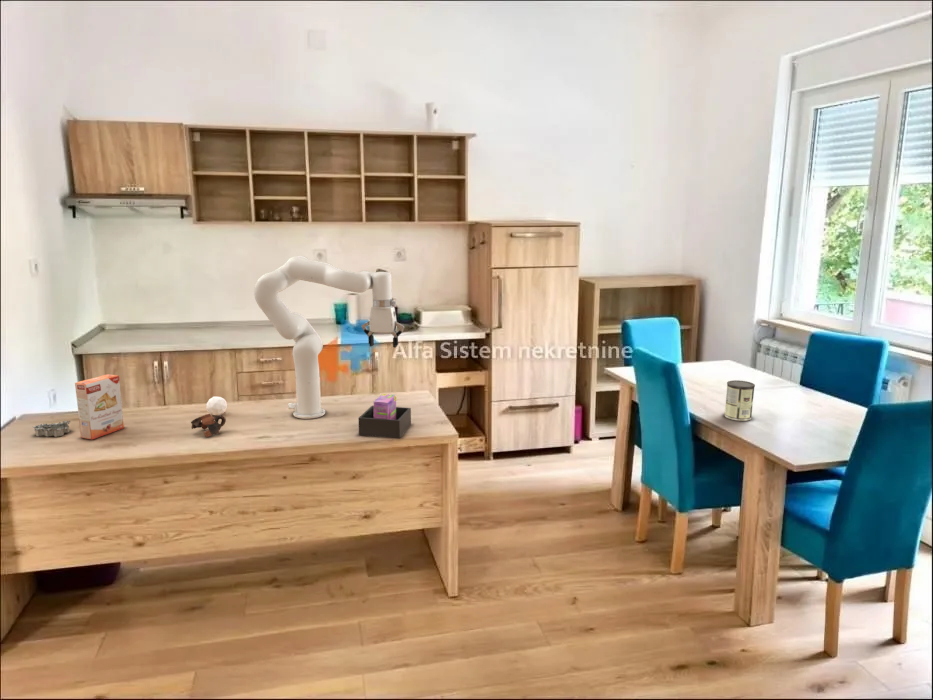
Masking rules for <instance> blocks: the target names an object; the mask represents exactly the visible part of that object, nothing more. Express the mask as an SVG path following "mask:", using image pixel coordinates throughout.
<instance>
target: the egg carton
mask: <svg viewBox="0 0 933 700" xmlns="http://www.w3.org/2000/svg"><path fill="white" fill-rule="evenodd" d="M70 423H71V420H64V421H62V422H58V423H56V422H55V423H39V424H38V425H35V426H32V428H33V429H34V434H35V436H36V437H41V436H44V437H51V436H53V437H54V438H57V437H61V436H64V435H65V434H69V433H70V432H71V430H70Z"/></svg>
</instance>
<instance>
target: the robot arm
mask: <svg viewBox="0 0 933 700" xmlns="http://www.w3.org/2000/svg"><path fill="white" fill-rule="evenodd" d="M392 279H393V278H392V274H391V273H390V272H388V271H367V270H360V271H358V272H355V271H351V270H345V269H341V268H338V267H336V266H334V265H333V264H331V263H329V262H324V261H320V260H315V259H310V258H308V257H306V256H304V255H295V256H291V257H290V258H288V259H287V261H286V262H285V263H283V264H282V265H281V266H279V267H278V268H276V269H274V270H273V271H269V272H266V273H264V274H262V275H260V277H259V278H258V279H257V281H256V283H255V285H254V289H253V293H254V294H253V296H254V300H255V302H256V305H258V307H259V308H260V310H261V311H262V312H263V314H264V315H265V317H267V319H268V320H269V322H270V323H271V325H272V326H273V327H274V328H275V330H276V331H277V333H278V334H279V335H280V336H281V337H282V338H283V339H285V340H289V341H290V340H293V341H294V342H295V343H294V345H293V347H292V359H293V365H294V377H295V395H296V402H295V403H294V402H288V404H287V407H288V409H289V410H293V414H292V415H293V417H294V418H297V419H303V420H308V419H317V418H322V417H323V416H324V415H325V414H326V409H325V408H323V407H322V393H321V376H320V364H319V355H320V353H321V352H322V350H323V347H324V344H323V343H324V342H323V340H322V338H321V336H320V334H319V333H318V332H317V331H316V330H315V328H314V327H313V326H312V324H311V323H310V322H309V320H308V319H307V318H306V317H305V316H304V315H302V314H301V313H299V312H293V311H291V310H290V309H289V307H288V306H287V305H286V303H285V302H284V301H283V300H282V299H281V298H280V297H279V294H278V293H280V292H283V291H285V290H286V289H288V288H289V287H291V286H292V285H294V284H296V283H298V282H299V281H304V282H309V283H313V284H318V285H322V286H323V285H324V286H327V287H330V288H334V289H338V290H342V291H345V292H352V293H358V294H359V293H365V292H366V291H368V290H372V294H371V295H372V306H371V308H370V312H369V320H368V321H367V322H365V323H363V324H361V328H362V330H363V332H364V334H365V335H366V336H367V338H368V345H369V347H373V346H374V345H375V338H374V333H381V334H383V333H384V334H385V333H386V334H391V335H392V336H393V337H392V348H394V349H395V348H396V347H398V345H399V336H400V335H401V334H402V333H403V331H404V329H405V326H404V325H403V324H401V323H399V322H398V321H397V313H396V308H395V305H396V301H395V300H393V288H392V287H393V285H392V284H393V283H392V282H393V281H392ZM367 327H369V329H368V328H367ZM397 328H399V330H398V329H397ZM397 330H398V331H397Z"/></svg>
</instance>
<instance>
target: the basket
mask: <svg viewBox="0 0 933 700" xmlns="http://www.w3.org/2000/svg"><path fill="white" fill-rule="evenodd" d="M357 419H358V421H357V422H358V436H359V437H361V436H362V437H375V438H390V439H401V437H403V435H404V434H405V432H406V431H408V429H409V428H410V426H411V425H412V408H411V407H403V406H396V420H392V419H377V418H374V405H370V407H369V408H368V409H366V410H365V411H364V412H363V413H362V414H361V415H360V416H359V417H358V418H357Z"/></svg>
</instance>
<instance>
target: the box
mask: <svg viewBox="0 0 933 700" xmlns="http://www.w3.org/2000/svg"><path fill="white" fill-rule="evenodd" d="M372 404H373V406H374V418H377V419H392V420H396V407H397V394H392V393H391V394H390V393H381V395H379V396H377V398H376V399H374V401H373V403H372Z"/></svg>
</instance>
